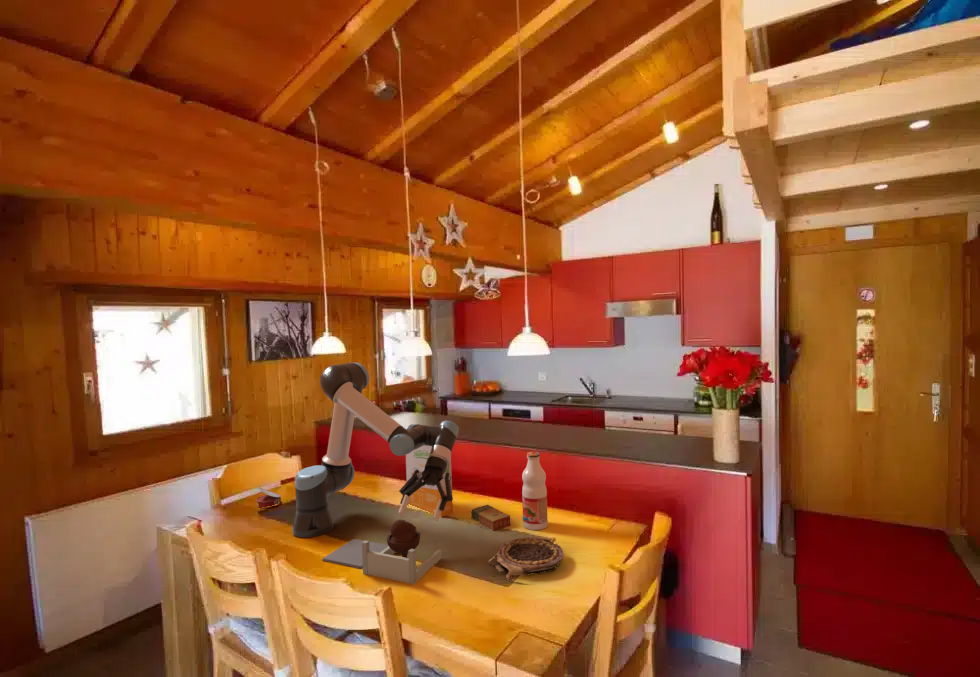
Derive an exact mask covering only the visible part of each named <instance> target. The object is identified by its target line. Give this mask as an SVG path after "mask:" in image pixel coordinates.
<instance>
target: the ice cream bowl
mask: <svg viewBox="0 0 980 677" xmlns="http://www.w3.org/2000/svg"><path fill="white" fill-rule="evenodd" d="M416 527H417V526H415V525H414V524H413V523H411V522H410V521H406V520H404V519H398V520H395V521H394V522H393V523H392V524H391V526H390V529H389V531H390V534H388V535H387V537H386V543H387V545H388V546H389V548H391V549H392V550H393V551H395V552H396V553H397V554H399V555H401V557H404V558H408V551H409V550H410V549H415V550H416V549H417V547H418V546H419V545H420V542H421V532H419V531H417V528H416ZM396 553H395V554H396Z"/></svg>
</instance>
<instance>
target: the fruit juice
mask: <svg viewBox="0 0 980 677" xmlns="http://www.w3.org/2000/svg"><path fill="white" fill-rule="evenodd" d="M540 457H541V454H540V452H538V451H528V452H527V453H526V458H527V463H526V467H525V468H524V469H523V472H522V475H521V477H522V478H521V479H522V482H523V484H522V488H521V489H522V491H521V495H522V496H521V498H522V525H523V527H524V528H525V529H527V530H531V531H541V530H544V529H546V528H547V527H548V522H549V521H548V491H547V486H546V479H547V474H546V472H545V470H544V469H543V467H542V465H541V463H540Z"/></svg>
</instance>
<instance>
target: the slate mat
mask: <svg viewBox="0 0 980 677" xmlns="http://www.w3.org/2000/svg"><path fill="white" fill-rule="evenodd" d="M363 541H364V539H363V540H362V539H357V538H352V539H351V540H349V541H348V542H346V543H345V544H343V545H342V546H339V548H337V549H335V550H333V551H332V552H330V553H329V554H327V555H326V556H324V557H322V561H323V562H327V563H331V564H335V565H340V566H346V567H352V568H355V569H360V570H361V569H362V570H363V560H362V542H363ZM387 547H388V544H383V543H379V542H373V541H369V550H370V551H373V552H378V553H380V552H381V551H383V550H384V549H386V548H387Z"/></svg>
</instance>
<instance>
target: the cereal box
mask: <svg viewBox="0 0 980 677" xmlns="http://www.w3.org/2000/svg"><path fill="white" fill-rule="evenodd" d="M431 448H432V446H425V445H424V446H422V447H420V448H418V449H415V450H413V451H412V452H410V453H409V454H406V455H405V470H406V472H405V474H406V482H407V481H408V480H409V479H410V478H411V477H412V476H413V475H414V473H415V471H416V470H417V469H418V470H419V471H421V472H423V471H424V469H425V464H426V462H427V459H428V458H429V454H430V451H431ZM447 472H448V473H449V474H450V475H451V481H450V483H451V490H452V491H453V483H452V482H453V479H452V478H453V477H452V474H453V473H452V454H451V455H450V458H449V461H448V463H447V467H446V470H445V473H444V474H446V473H447ZM421 477H422V476H421ZM421 477H420V478H421ZM417 481H418V480H417ZM417 481H416V482H417ZM422 482H424V481H422ZM440 483H441V485H442V488H443V490H444V493H445V495H446V496H447V493H446V486H445V479H444V478H443V479H442V480H441V481H440ZM409 498H410V500H409V503H408V504H410V505H412V506H415V507H417V508H420V509H422V510H421V511H423V510H425V511H428V512H430V513H429V514H431V513H433V514H434V513H435V510H436V507H437V504H438V501H439V499H442V498H441V495H440V493H439V490H438V488H437V486H436V485H435V486H432V485H424V486H422V487H420V488H419V489H418V490H417V491H415V492H414V493H413V494H412V495H410V496H409ZM412 506H411V507H412ZM415 507H414V508H415ZM417 508H416V509H417ZM420 509H419V510H420ZM453 509H454V506H453V500H452V501H447V502H446V505H445V508H444V510H443V511H441V514H440V517H439V518H443V517H442V516H444V517H446V516H449V515H451V514H453V513H454V510H453ZM425 511H424V512H425ZM428 512H427V513H428ZM450 513H451V514H450ZM433 514H432V515H433ZM448 514H449V515H448ZM445 515H446V516H445Z"/></svg>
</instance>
